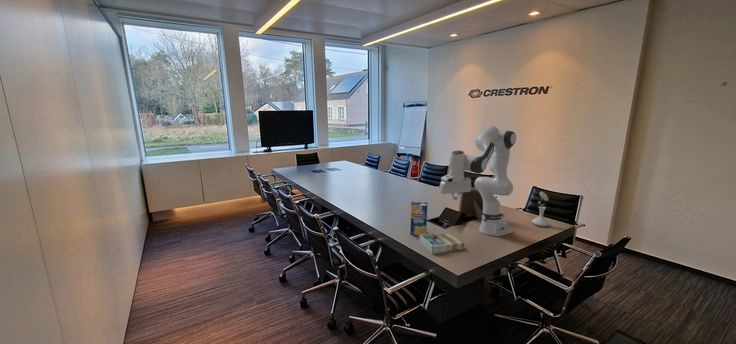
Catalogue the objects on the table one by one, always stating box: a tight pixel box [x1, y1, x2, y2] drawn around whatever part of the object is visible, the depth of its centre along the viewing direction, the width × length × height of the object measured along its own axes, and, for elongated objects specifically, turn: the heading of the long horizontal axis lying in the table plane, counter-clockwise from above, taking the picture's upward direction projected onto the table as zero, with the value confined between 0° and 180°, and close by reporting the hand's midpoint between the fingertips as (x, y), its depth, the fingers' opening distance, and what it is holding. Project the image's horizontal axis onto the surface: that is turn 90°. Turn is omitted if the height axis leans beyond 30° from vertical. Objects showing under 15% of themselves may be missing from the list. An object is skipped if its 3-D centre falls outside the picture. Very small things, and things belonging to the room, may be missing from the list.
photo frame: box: [458, 186, 483, 222], centre depth 240 cm, size 15×22×25 cm
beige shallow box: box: [434, 232, 465, 252], centre depth 195 cm, size 12×16×4 cm
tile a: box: [425, 238, 434, 245], centre depth 195 cm, size 5×5×2 cm
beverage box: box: [410, 201, 429, 236], centre depth 211 cm, size 7×11×22 cm, turn 78°
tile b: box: [435, 239, 443, 245], centre depth 188 cm, size 5×5×2 cm
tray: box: [418, 232, 448, 255], centre depth 192 cm, size 10×18×5 cm, turn 15°
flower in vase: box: [531, 191, 550, 227], centre depth 226 cm, size 13×11×25 cm
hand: (454, 199), depth 186 cm, fingers closed
